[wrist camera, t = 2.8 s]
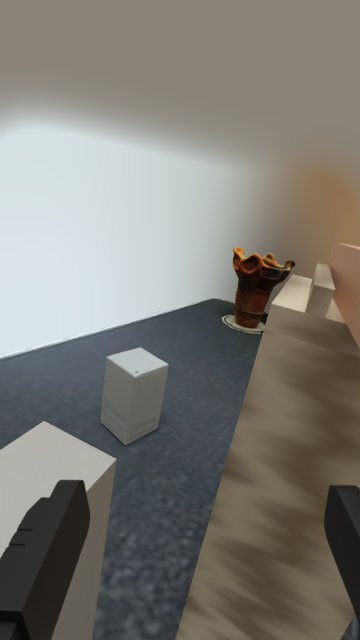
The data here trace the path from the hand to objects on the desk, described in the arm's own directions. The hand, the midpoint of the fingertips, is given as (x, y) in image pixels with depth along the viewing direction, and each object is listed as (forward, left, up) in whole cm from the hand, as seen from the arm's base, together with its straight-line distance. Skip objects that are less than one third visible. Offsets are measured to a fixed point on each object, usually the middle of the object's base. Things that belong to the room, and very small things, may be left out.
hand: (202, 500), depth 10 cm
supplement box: (-19, +31, -27) cm, 46 cm away
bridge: (+5, +16, -27) cm, 32 cm away
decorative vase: (-15, +104, -27) cm, 109 cm away
